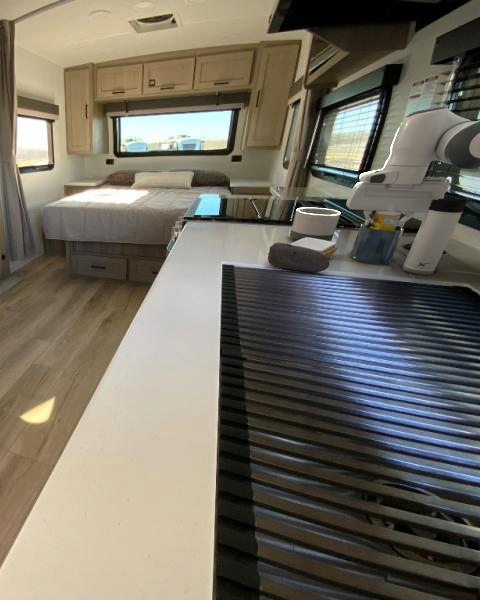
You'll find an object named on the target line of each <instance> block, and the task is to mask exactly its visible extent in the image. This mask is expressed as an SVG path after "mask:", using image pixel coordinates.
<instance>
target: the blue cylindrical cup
mask: <svg viewBox="0 0 480 600" xmlns="http://www.w3.org/2000/svg"><path fill="white" fill-rule="evenodd" d="M404 230H405V228H404V227H403V228H395V230H394V231H387V230H377V229H372V228H370V226H365V222H364V223H361V224H360V227H359V229H358V232H357V234H356V238H355V240H354V243H353V245H352V248H351V252H350V255H349V257H350V259H352V260H354V261H356V262H359V263H364V264H368V265H379V266H383V265H389V264H390V263H391V261H392V259H393V257H394V254H395V251H396V249H397V247H398V244H399V242H400V241H401V237H402V235H403V233H404Z"/></svg>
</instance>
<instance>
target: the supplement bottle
mask: <svg viewBox="0 0 480 600" xmlns="http://www.w3.org/2000/svg"><path fill="white" fill-rule="evenodd" d="M396 209H397V205H392V204H391V205H389V207H388V209H387V210H388V211H375V213H374V215H373V218H372V219H373V220H374V222H373V223H372V224H373V225H372V226H370V228H372V229H377V230H387V231H394V230H395V228H396V225H397V223H398V221H400V218H401V215H402V212H396V211H395V210H396Z"/></svg>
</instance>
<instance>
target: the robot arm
mask: <svg viewBox="0 0 480 600" xmlns="http://www.w3.org/2000/svg"><path fill="white" fill-rule="evenodd" d="M433 161H437V162H441V163H445V164H448V165H453V166H455V167H457V168H460V169H465V170H474V169H480V119H479V120H477V121H476V120H471V119H468V118H465V117H463V116H460V115H458V114H456V113H454V112H453V111H451V110H450V109H449V108H448V107H447V106H437V107H432V108H426V109H420V110H416V111H413V112H411V113H409V114H408V115H407V116H405V117H404V119H403V120H402V121H401V123H400V125H399V127H398V129H397V131H396V133H395V136H394V138H393V141H392V144H391V145H390V154H389V157H388V158H387V160H386V161H385V163H384V166H383V167H382V168H380V169H376V170H372V171H367V172H363V173H361V174H360V175H359V178H358V179H359V182H357V183H356V184H355V185H354V186H353V187H352V188H351V191H350V193H349V195H348V197H347V200H346V203H345V205H346V207H347V208H348V209H349V210H357V211H358V210H359V211H363V215H364V218H365V221H364V223H365V226H372V225H373V224H372V223H373V222H374V220H373V218H371V217H370V215H372V214H373V211H375V212H376V211H388V210H387V209H388V207H389V205H391V204H392V205H397V209H396V210H395V211H396V212H401V213H403V215H404V216H403V217H402V218H401V219H399V220H398V223H397V225H396V228H403V229H404V225H405V223H407V222H408V221H409V220H410V219H412V218H413V216H414V214H415V213H416V214H417V213H418V214H426V213H427V210H428V209H429V207H430V206H431V205H430V204H431V202H432V200H433V199H435V200H438V199H445V194H446V193H447V192H448V190H449V188H450V186H451V181H450V180H449V179H448V178H446V177H445V176H426V173H427V171H428V168H429V167H430V163H431V162H433Z"/></svg>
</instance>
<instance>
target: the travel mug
mask: <svg viewBox="0 0 480 600" xmlns="http://www.w3.org/2000/svg"><path fill="white" fill-rule="evenodd" d="M470 201H471V198H443V199H438V200H435V199H433V200H432V202H431V204H430V205H431V206H430V207H429V209H428V210H427V213H425V215H424V217H423V219H422V222H421V224H420V227H419V229H418V231H417V233H416V235H415V237H414V240H413V242H412V245H411V247H410V249H409V251H408V253H407V256H406V259H405V260H404V263H403V264H402V267H401V268H402V270H403V271H404V272H407V273H409V274H415V275H421V276H431V275H433V274H434V272H435V270H436V268H437V265H438V264H439V262H440V259H441V257H442V255H443V253H444V251H445V249H446V247H447V245H448V243H449V241H450V239H451V237H452V235H453V233H454V231H455V229H456V227H457V224H458V222H459V220H460V218H461V216H462V214H463V212H464V209H465V207H466V205H467V203H469V202H470Z"/></svg>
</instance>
